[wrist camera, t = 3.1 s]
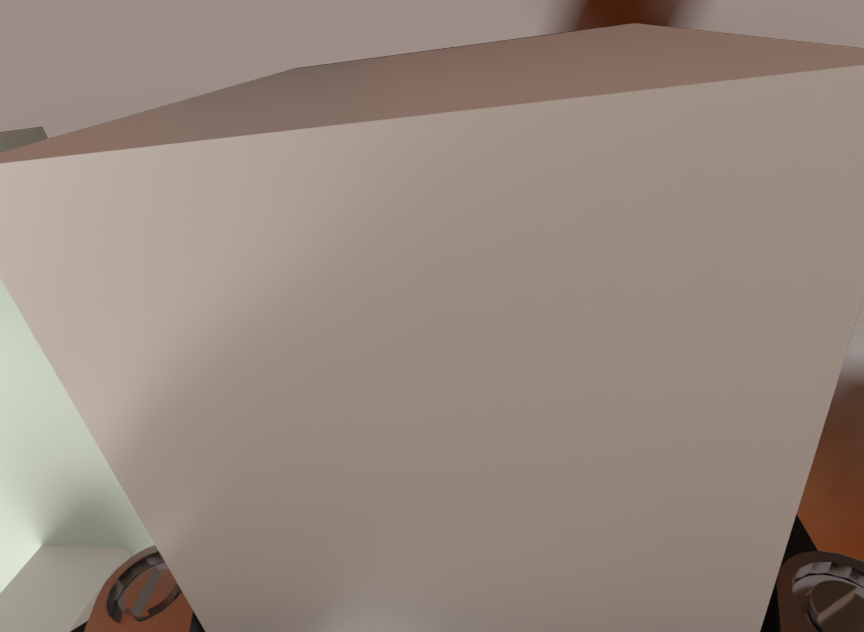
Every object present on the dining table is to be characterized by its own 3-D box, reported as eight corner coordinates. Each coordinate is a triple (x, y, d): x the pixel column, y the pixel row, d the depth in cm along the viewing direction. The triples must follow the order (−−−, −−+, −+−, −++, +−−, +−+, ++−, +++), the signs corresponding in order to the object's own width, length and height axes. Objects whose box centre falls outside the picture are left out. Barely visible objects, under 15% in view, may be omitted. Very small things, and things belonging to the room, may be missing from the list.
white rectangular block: (294, 68, 8) (-62, 170, 3) (633, 23, 7) (938, 57, 2) (415, 595, 15) (368, 912, 10) (602, 602, 14) (660, 952, 9)
